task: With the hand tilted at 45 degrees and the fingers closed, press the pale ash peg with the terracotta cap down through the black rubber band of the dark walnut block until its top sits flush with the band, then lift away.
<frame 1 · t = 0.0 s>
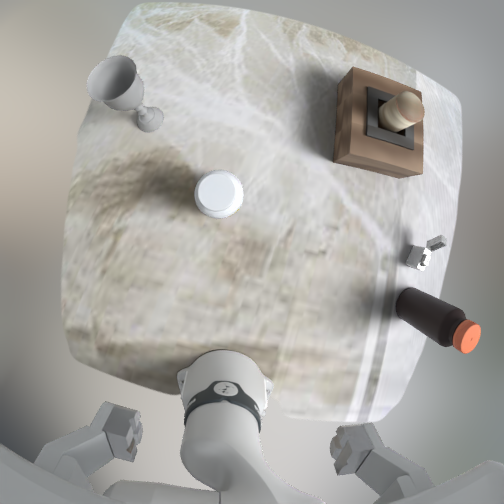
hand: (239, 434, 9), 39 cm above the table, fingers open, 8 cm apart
chalice: (150, 119, 44), on the table
supplement bottle: (222, 197, 47), on the table
peg: (398, 113, 35), point 11 cm above the table, slide at 6.0 cm
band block: (370, 130, 46), on the table
lighter: (414, 249, 49), on the table
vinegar: (407, 303, 51), on the table
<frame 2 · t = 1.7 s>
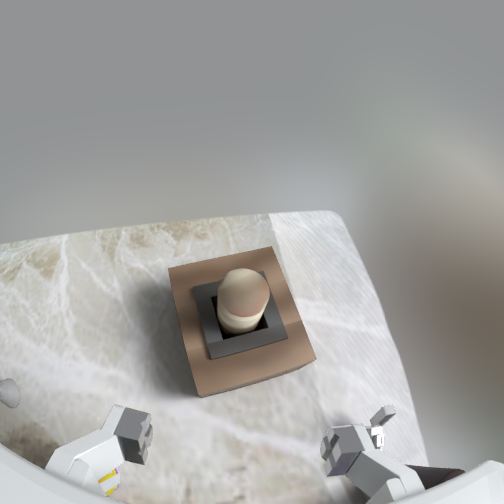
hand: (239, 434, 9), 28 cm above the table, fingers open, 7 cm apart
chalice: (10, 393, 27), on the table
supplement bottle: (101, 472, 25), on the table
peg: (240, 306, 30), point 11 cm above the table, slide at 6.0 cm
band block: (234, 332, 39), on the table
lighter: (361, 430, 33), on the table
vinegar: (385, 481, 28), on the table
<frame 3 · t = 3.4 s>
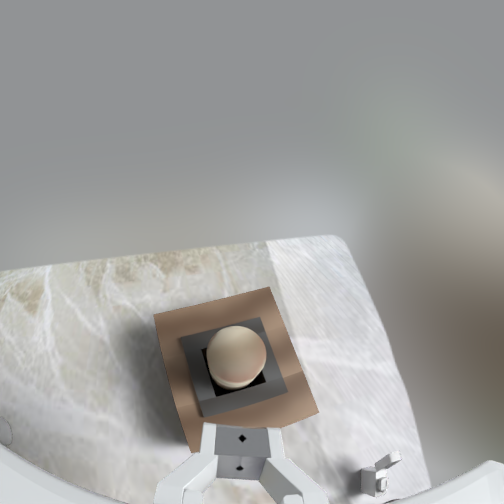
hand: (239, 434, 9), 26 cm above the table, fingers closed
chalice: (2, 431, 22), on the table
peg: (234, 362, 26), point 11 cm above the table, slide at 6.0 cm
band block: (230, 377, 35), on the table
lighter: (365, 470, 28), on the table
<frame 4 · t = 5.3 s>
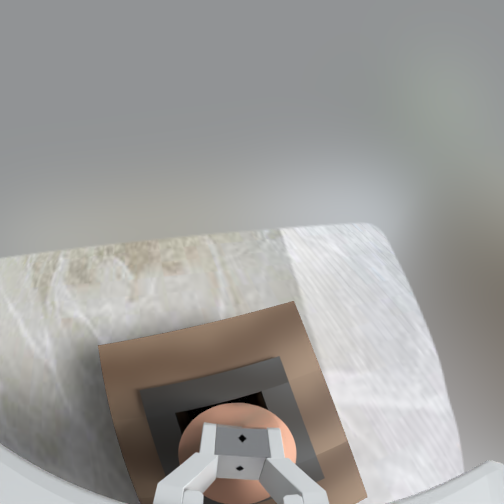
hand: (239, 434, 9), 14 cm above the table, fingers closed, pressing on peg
peg: (233, 445, 13), point 10 cm above the table, slide at 4.9 cm, touching gripper
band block: (227, 432, 21), on the table
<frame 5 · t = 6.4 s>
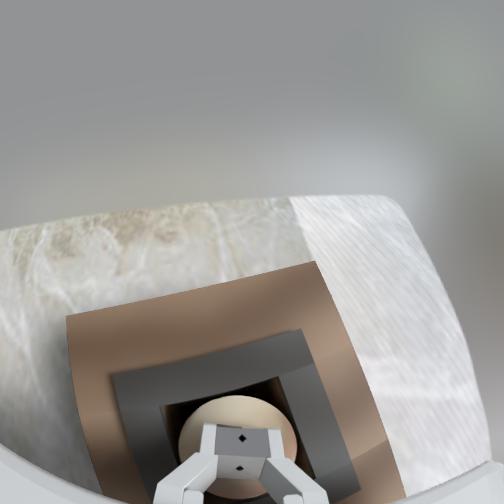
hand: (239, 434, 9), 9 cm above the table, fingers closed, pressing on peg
peg: (233, 439, 13), point 5 cm above the table, slide at 0.0 cm, touching gripper
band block: (229, 433, 17), on the table
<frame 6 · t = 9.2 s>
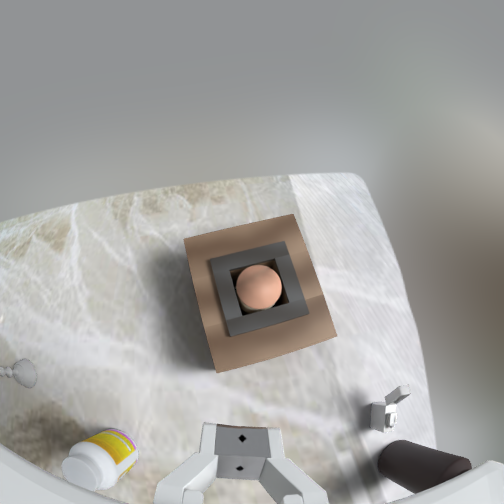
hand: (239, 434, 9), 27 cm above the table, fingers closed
chalice: (27, 373, 31), on the table
supplement bottle: (119, 447, 29), on the table
peg: (256, 294, 35), point 5 cm above the table, slide at 0.0 cm
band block: (253, 302, 39), on the table
lighter: (375, 405, 34), on the table
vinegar: (394, 457, 31), on the table
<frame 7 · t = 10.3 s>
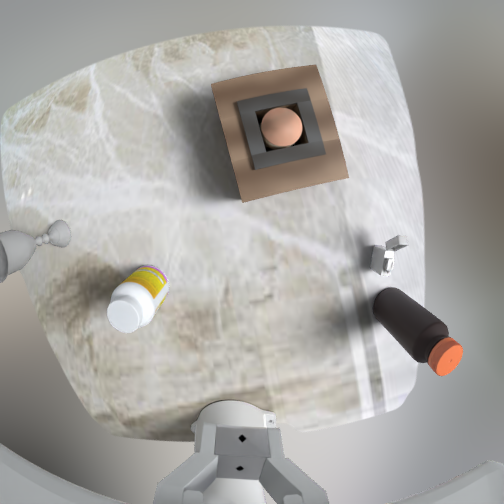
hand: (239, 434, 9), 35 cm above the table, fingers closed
chalice: (61, 233, 42), on the table
supplement bottle: (151, 283, 45), on the table
peg: (278, 132, 35), point 5 cm above the table, slide at 0.0 cm
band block: (274, 138, 40), on the table
lighter: (377, 248, 45), on the table
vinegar: (387, 303, 47), on the table
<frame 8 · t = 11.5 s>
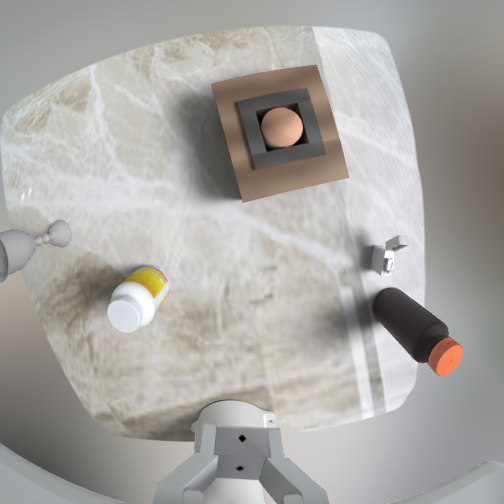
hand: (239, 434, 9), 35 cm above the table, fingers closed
chalice: (61, 233, 42), on the table
supplement bottle: (151, 283, 45), on the table
peg: (278, 132, 36), point 5 cm above the table, slide at 0.0 cm
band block: (274, 138, 40), on the table
lighter: (377, 248, 45), on the table
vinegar: (387, 303, 47), on the table
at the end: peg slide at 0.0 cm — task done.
